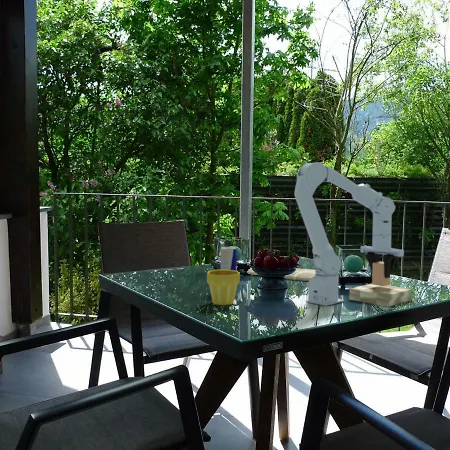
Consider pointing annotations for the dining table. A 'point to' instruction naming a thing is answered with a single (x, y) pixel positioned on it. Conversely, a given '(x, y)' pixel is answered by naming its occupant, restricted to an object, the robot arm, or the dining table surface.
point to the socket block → (380, 294)
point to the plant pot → (223, 285)
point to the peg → (379, 275)
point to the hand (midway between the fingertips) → (381, 276)
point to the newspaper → (295, 274)
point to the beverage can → (228, 258)
